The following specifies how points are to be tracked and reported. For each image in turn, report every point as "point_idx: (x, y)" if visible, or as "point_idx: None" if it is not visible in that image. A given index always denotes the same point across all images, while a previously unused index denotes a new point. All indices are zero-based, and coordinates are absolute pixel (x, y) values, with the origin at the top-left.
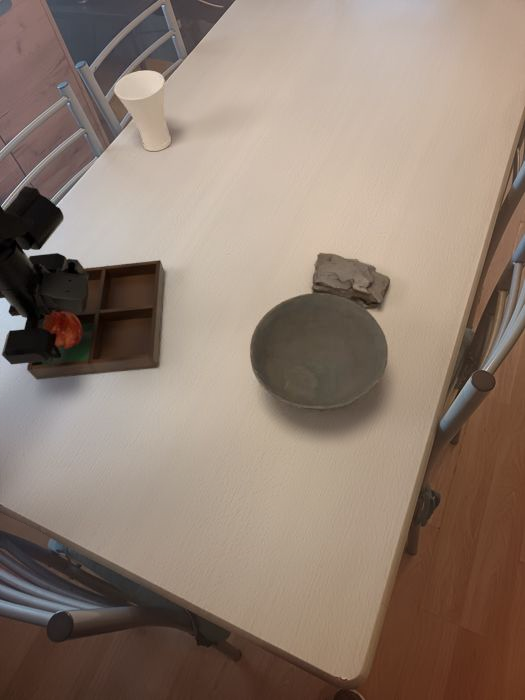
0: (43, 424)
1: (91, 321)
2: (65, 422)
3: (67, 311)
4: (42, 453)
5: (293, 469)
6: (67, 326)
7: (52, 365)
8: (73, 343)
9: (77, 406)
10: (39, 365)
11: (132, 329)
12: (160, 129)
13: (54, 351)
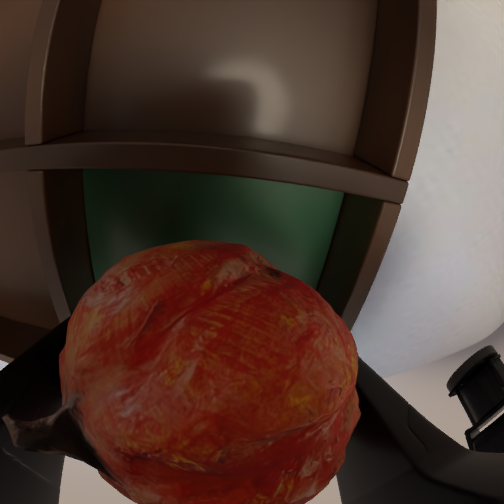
0: (431, 315)
1: (78, 195)
2: (456, 267)
3: (52, 334)
4: (476, 303)
5: None
6: (279, 424)
7: None
8: (325, 301)
9: (439, 239)
10: None
11: None
12: None
13: (405, 402)
